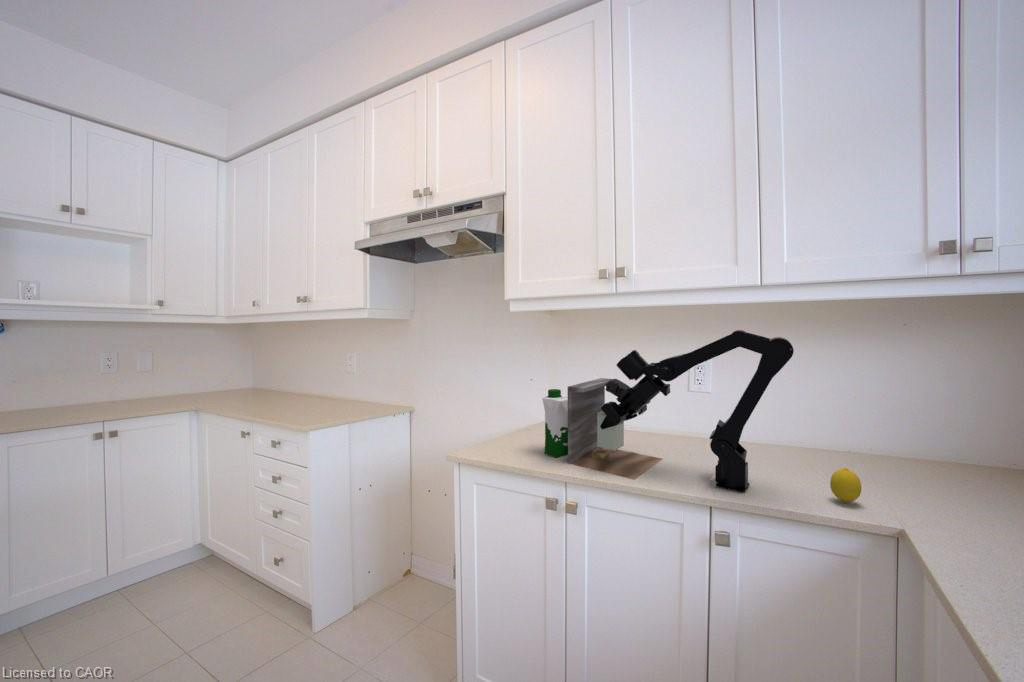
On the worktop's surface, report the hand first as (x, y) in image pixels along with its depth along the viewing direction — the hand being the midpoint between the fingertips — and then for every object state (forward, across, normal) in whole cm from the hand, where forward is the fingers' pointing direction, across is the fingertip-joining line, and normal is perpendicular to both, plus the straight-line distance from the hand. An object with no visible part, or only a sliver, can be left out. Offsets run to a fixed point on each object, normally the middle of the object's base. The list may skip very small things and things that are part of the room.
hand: (606, 425), depth 124 cm
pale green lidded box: (+3, 0, +5) cm, 6 cm away
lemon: (-32, -8, +47) cm, 57 cm away
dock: (+5, 0, +10) cm, 11 cm away
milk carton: (+18, +2, -3) cm, 19 cm away
